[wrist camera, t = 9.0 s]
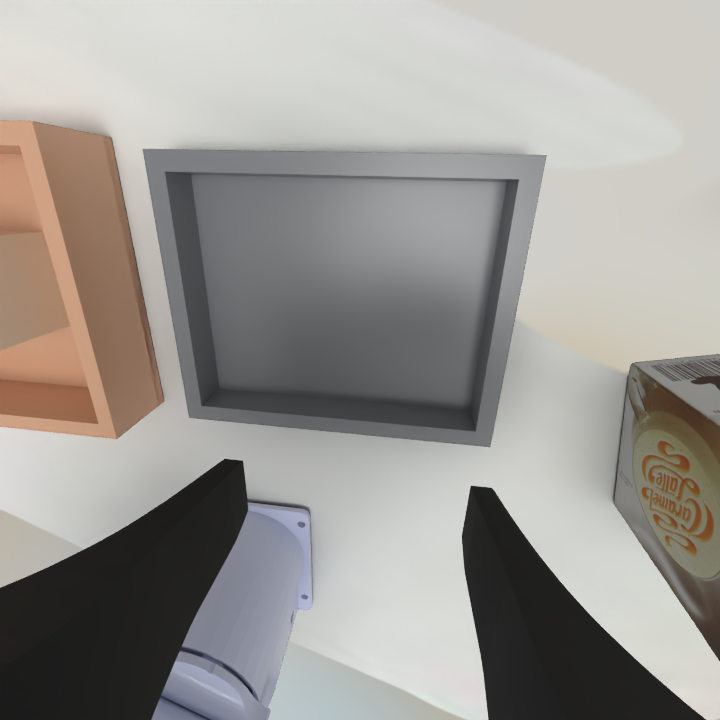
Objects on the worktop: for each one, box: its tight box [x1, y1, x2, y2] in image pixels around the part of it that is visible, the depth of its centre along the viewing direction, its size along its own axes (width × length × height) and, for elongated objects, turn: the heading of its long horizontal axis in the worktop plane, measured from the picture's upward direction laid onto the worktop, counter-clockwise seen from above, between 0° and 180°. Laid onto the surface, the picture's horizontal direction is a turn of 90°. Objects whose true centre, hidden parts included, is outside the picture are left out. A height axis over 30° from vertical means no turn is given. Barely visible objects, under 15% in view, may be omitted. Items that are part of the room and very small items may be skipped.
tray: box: [143, 149, 547, 447], centre depth 18 cm, size 13×16×2 cm
